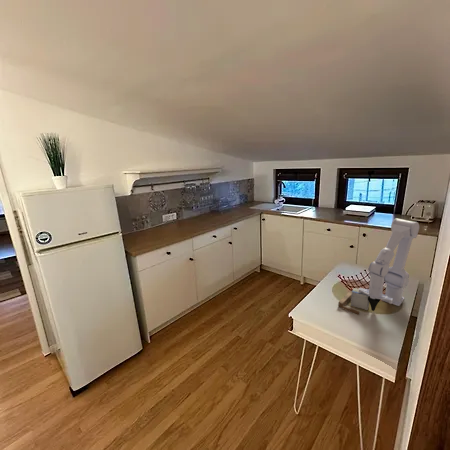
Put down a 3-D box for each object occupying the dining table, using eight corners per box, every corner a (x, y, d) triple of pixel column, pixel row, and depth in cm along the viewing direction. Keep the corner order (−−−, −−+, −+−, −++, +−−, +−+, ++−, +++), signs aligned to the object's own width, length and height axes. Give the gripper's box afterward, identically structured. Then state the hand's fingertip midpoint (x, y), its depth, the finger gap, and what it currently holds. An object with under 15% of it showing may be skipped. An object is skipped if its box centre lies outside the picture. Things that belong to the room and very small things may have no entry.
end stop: (349, 295, 141) (350, 290, 140) (369, 302, 134) (369, 297, 133) (338, 306, 133) (338, 301, 132) (358, 315, 125) (358, 310, 124)
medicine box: (368, 306, 131) (370, 291, 129) (367, 310, 128) (369, 295, 125) (352, 301, 136) (353, 287, 133) (350, 305, 133) (351, 291, 130)
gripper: (357, 283, 125) (354, 307, 129) (390, 294, 114) (387, 320, 118) (362, 278, 129) (360, 301, 133) (395, 288, 119) (391, 313, 123)
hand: (373, 309), depth 126 cm, fingers closed
